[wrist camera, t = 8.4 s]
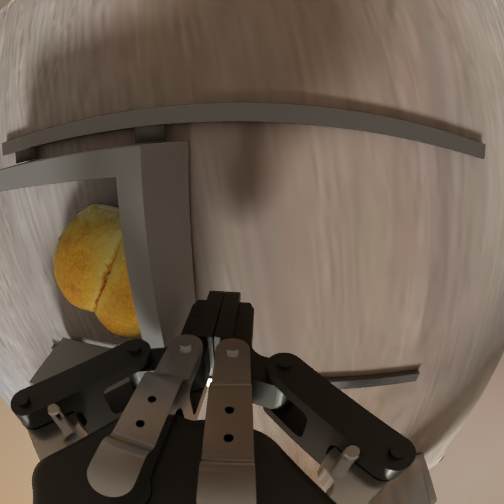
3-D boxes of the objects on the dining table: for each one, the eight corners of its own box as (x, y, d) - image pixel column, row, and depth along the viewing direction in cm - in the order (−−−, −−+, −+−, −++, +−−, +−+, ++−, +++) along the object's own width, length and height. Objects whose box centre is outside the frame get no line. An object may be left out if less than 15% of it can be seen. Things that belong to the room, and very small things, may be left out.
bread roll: (152, 337, 20) (134, 373, 16) (61, 269, 18) (31, 295, 15) (209, 260, 17) (194, 295, 14) (96, 178, 15) (58, 192, 12)
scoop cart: (190, 124, 14) (139, 119, 8) (205, 374, 21) (189, 441, 15) (24, 150, 14) (-42, 167, 8) (72, 350, 21) (39, 397, 15)
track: (480, 143, 13) (485, 144, 12) (413, 377, 21) (415, 380, 20) (6, 142, 14) (2, 143, 14) (57, 351, 22) (54, 355, 21)
